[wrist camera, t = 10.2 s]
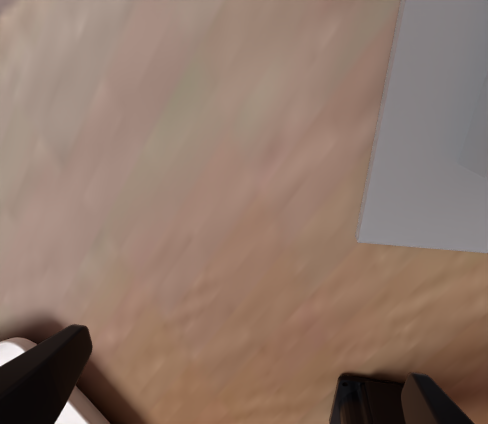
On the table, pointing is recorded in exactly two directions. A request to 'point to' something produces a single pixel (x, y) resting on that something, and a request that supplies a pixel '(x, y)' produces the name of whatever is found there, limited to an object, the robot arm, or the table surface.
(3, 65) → the table surface
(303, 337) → the table surface
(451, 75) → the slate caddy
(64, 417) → the salad plate
